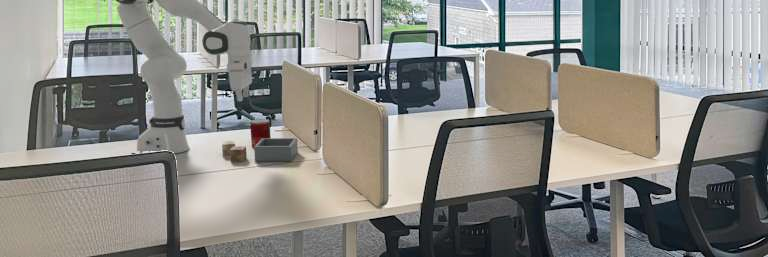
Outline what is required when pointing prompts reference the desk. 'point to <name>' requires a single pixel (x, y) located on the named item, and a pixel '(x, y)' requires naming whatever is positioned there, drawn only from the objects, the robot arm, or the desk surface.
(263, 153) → the bin
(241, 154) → the walnut block
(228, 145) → the oak block
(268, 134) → the canned food
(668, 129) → the desk surface
